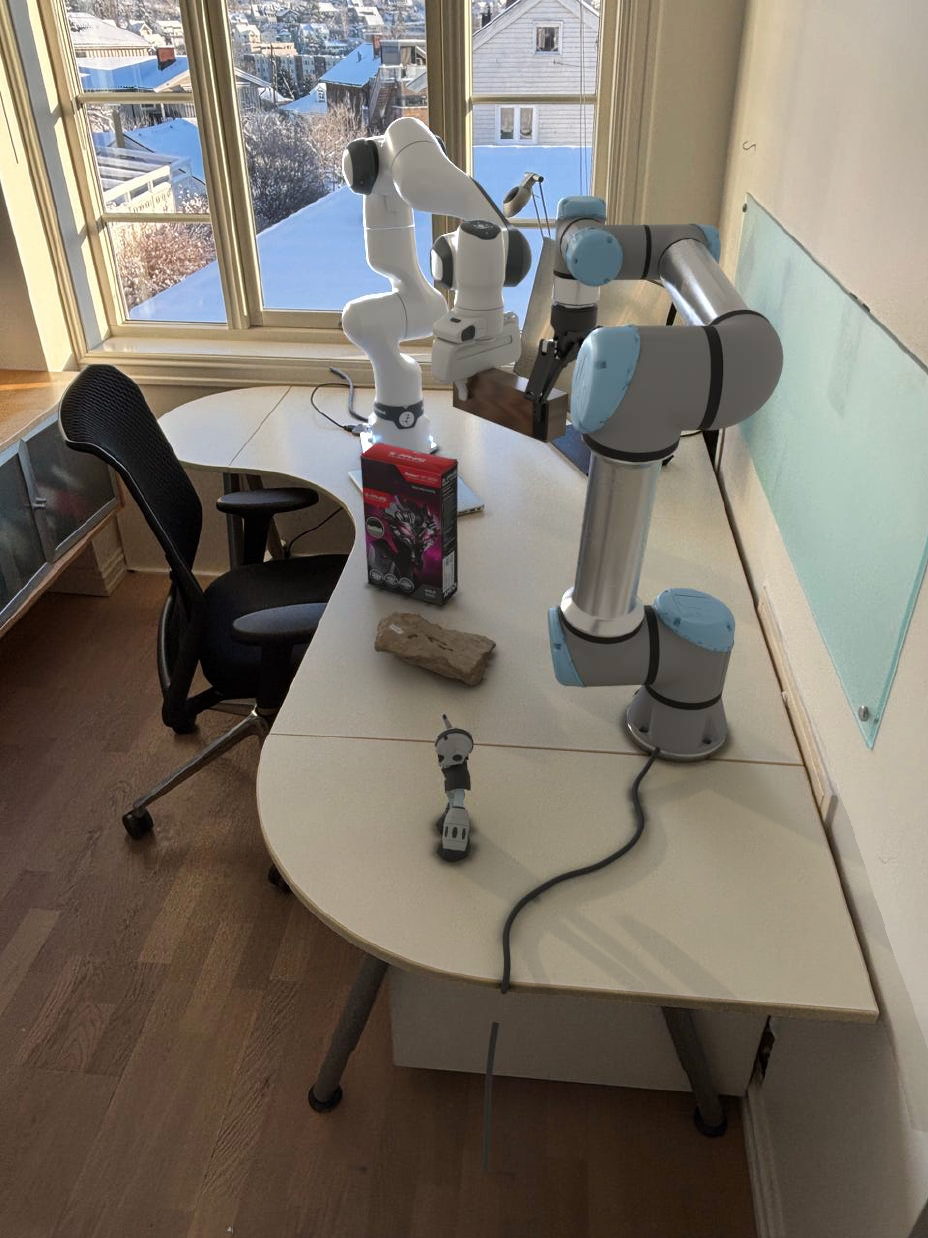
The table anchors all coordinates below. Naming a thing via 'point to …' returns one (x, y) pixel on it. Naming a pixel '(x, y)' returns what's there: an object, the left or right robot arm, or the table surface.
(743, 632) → the table surface
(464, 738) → the robot
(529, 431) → the bar
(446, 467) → the graphics card box
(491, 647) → the stone
